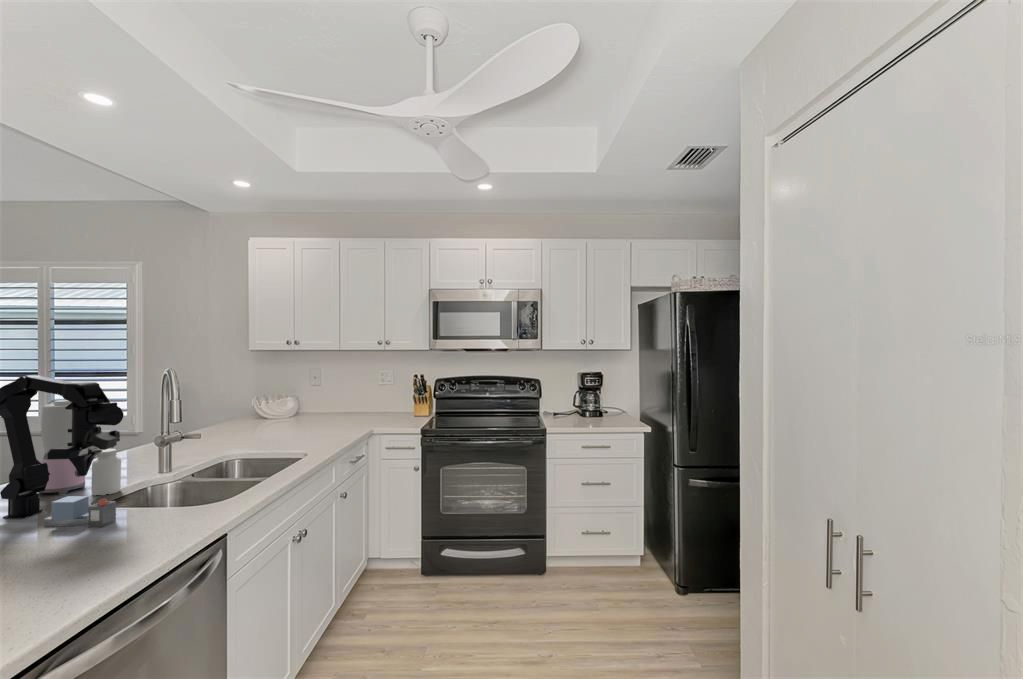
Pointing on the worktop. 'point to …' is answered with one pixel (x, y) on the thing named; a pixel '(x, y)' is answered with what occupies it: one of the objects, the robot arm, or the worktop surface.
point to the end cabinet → (101, 514)
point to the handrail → (67, 522)
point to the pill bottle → (106, 473)
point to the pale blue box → (70, 507)
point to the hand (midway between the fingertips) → (83, 475)
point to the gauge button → (102, 501)
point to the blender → (57, 435)
